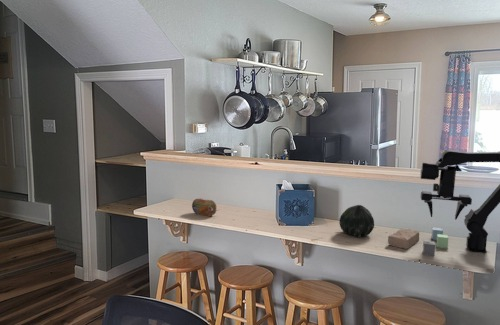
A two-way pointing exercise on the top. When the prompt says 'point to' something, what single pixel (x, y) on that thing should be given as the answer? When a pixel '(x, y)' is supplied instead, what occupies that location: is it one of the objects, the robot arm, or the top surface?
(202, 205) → the tin
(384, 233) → the top surface
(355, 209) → the squash
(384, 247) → the top surface
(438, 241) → the green block
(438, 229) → the bluegrey block
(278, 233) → the top surface
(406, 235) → the brick
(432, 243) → the charcoal block
